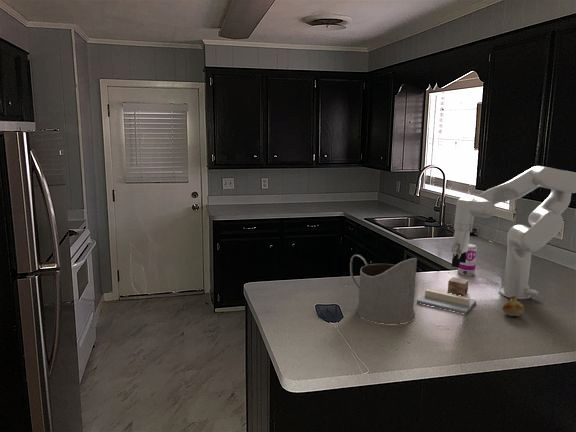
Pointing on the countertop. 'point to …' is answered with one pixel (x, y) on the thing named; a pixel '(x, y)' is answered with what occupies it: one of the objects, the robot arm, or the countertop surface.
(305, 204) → the countertop surface
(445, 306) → the cleat board
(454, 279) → the saddle block
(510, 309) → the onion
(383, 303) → the pitcher
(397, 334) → the countertop surface
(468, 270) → the supplement can
